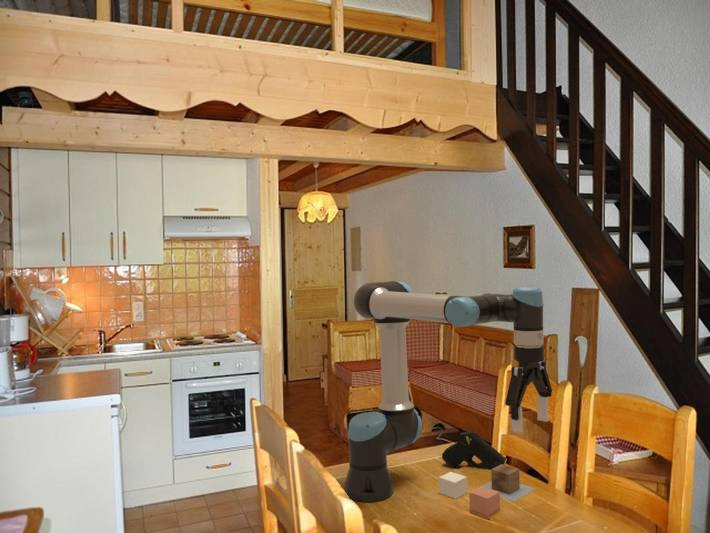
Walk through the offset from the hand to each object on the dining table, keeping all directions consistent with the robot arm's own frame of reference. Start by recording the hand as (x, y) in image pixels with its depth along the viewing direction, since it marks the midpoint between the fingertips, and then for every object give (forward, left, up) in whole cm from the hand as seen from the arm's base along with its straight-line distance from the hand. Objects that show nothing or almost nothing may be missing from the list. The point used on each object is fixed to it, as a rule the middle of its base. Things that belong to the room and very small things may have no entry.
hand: (530, 426), depth 145 cm
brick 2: (-17, +15, -26) cm, 34 cm away
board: (-17, +15, -27) cm, 35 cm away
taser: (-35, +25, -27) cm, 50 cm away
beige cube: (-27, +2, -27) cm, 38 cm away
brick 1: (-14, -1, -27) cm, 30 cm away
